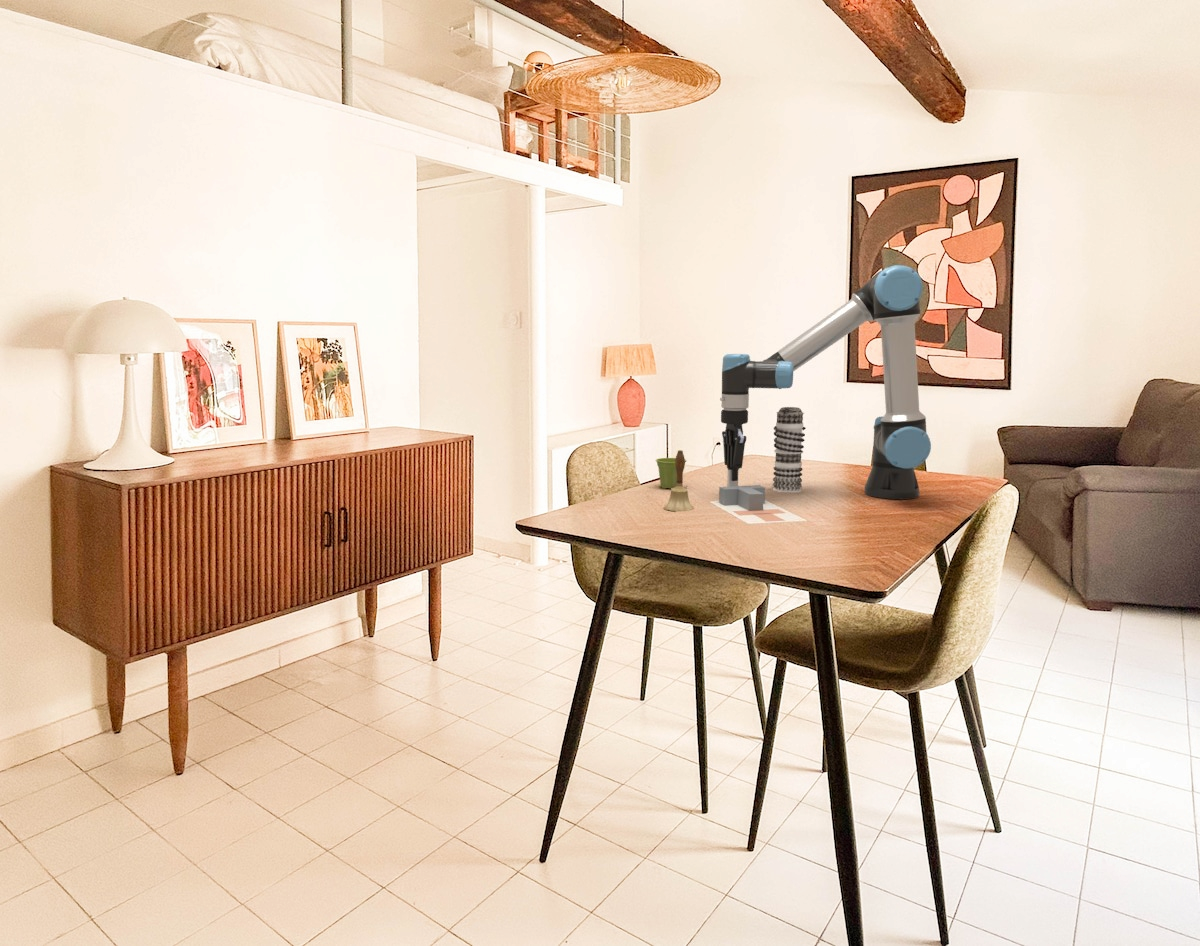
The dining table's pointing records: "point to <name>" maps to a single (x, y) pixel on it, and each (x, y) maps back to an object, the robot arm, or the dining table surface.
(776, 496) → the dining table surface
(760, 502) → the T block
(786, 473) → the decorative candle
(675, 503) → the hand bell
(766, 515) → the board
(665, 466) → the plant pot
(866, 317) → the robot arm
